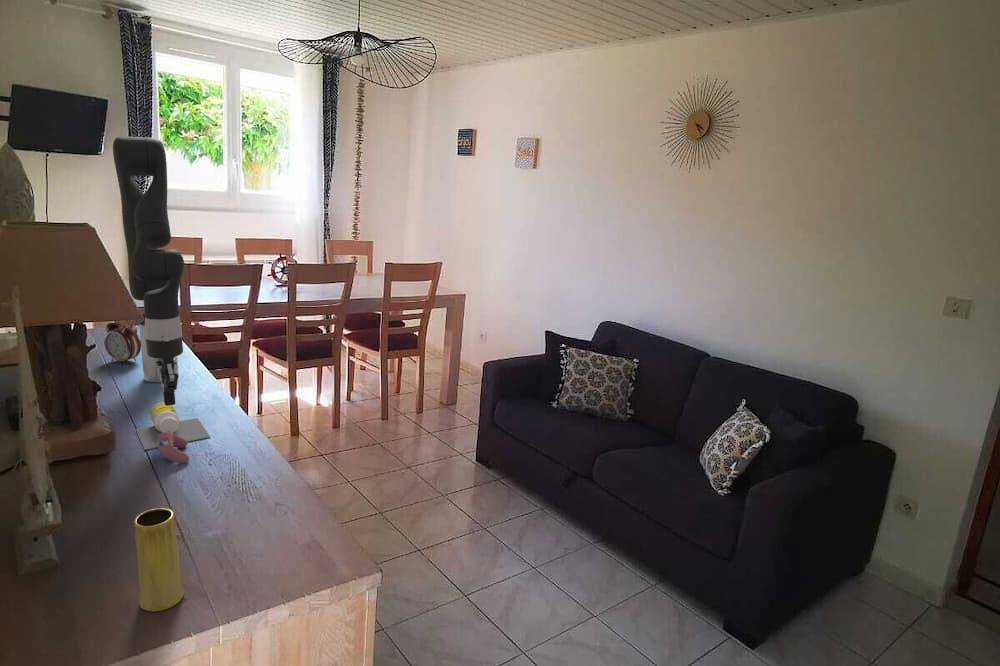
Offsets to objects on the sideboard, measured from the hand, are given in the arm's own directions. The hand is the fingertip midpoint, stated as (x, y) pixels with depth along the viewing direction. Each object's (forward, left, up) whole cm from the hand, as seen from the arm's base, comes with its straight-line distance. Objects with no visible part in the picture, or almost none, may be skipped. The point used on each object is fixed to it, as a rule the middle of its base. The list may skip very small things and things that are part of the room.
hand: (169, 404), depth 151 cm
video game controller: (+13, -2, -8) cm, 16 cm away
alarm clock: (-64, -2, -8) cm, 64 cm away
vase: (+63, -13, -8) cm, 65 cm away
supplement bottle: (-8, -1, -4) cm, 9 cm away
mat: (+1, 0, -8) cm, 8 cm away
